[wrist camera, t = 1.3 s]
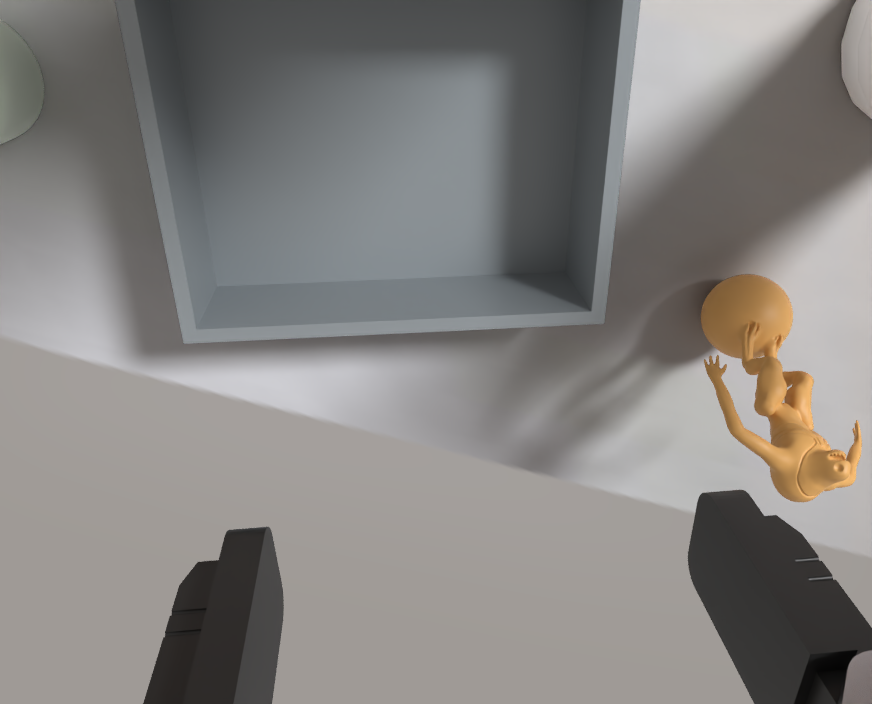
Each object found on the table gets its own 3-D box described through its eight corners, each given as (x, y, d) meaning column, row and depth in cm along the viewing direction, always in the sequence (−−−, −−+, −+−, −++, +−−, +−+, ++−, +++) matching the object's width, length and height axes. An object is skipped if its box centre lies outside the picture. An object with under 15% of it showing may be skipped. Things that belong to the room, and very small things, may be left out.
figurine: (815, 298, 36) (1002, 435, 25) (741, 392, 38) (884, 553, 28) (684, 230, 33) (830, 349, 23) (614, 334, 36) (717, 486, 25)
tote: (151, -30, 27) (108, -31, 22) (600, -36, 28) (644, -37, 24) (208, 294, 33) (183, 343, 29) (573, 278, 34) (604, 323, 30)
